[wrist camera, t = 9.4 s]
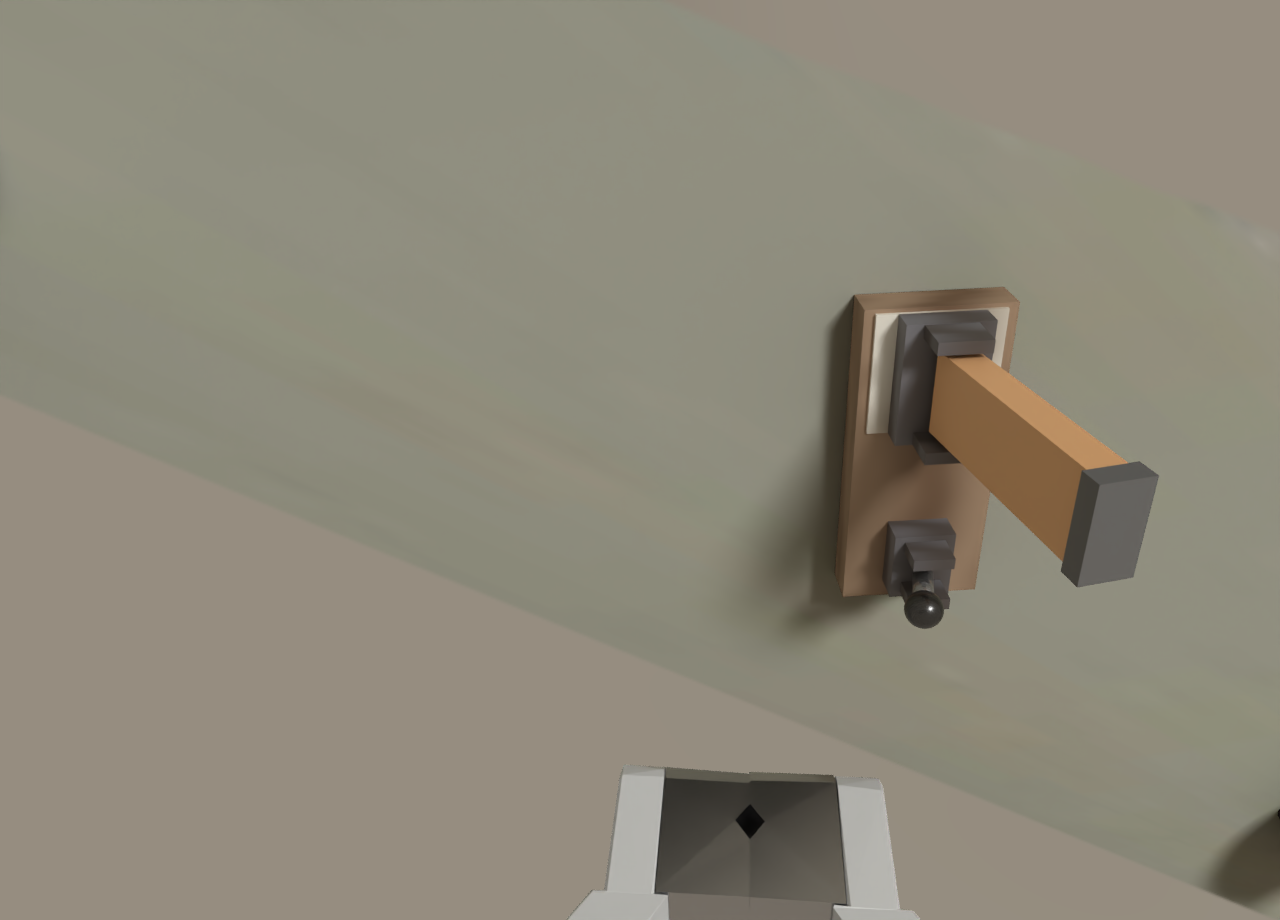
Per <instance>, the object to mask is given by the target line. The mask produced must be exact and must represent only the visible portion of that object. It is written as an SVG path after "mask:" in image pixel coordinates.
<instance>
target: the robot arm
mask: <svg viewBox="0 0 1280 920" xmlns="http://www.w3.org/2000/svg"><path fill="white" fill-rule="evenodd" d="M566 920H920V918H919V917H918V916H917V915H916V913H915V912H914V911H913V910H912V911H911V910H902V909H900V907H899V899H898V893H897V885H896V877H895V870H894V863H893V856H892V848H891V841H890V834H889V827H888V820H887V812H886V805H885V798H884V791H883V786H882V784H881V782H880V780H879V779H878V778H863V777H840V776H836V777H835V778H834V776H833V775H816V774H790V773H788V774H787V773H763V772H749V774H746V773H733V772H721V771H708V770H695V769H682V768H670V767H667V768H666V767H653V766H635V765H624V766H623V769H622V772H621V775H620V778H619V786H618V793H617V800H616V808H615V816H614V823H613V830H612V837H611V845H610V852H609V859H608V867H607V874H606V882H605V888H604V890H591V891H590V893H589V894H588V895H587V896H586V897H585V898H584V900H583V901H582V902H581V903H580V904H579V905H578V906H577V908H576V909H575V910H574V911H573V912H572V914H571V915H570V916H569V917H568V918H567V919H566Z"/></svg>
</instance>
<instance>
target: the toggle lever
mask: <svg viewBox="0 0 1280 920" xmlns="http://www.w3.org/2000/svg"><path fill="white" fill-rule="evenodd" d="M912 587H913V593H912V594H911V595H910V596H909V597H908V598H907V600H906V602H905V605H904V612H905V615H906V618H907V619H908V621H909V622H910V623H911V624H912V625H914V626H916V627H918V628H922V629H927V628H932V627H934V626H936V625H937V624H938V623H939V622H940V621H941V619H942V617H943V614H944V606H943V603H942V601H941V599H940V598H939V597H938V596H937V595H936V594H935V593H934V579H933V571H914V572H912Z"/></svg>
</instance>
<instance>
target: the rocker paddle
mask: <svg viewBox="0 0 1280 920" xmlns="http://www.w3.org/2000/svg"><path fill="white" fill-rule="evenodd" d="M929 432H930V433H931V434H932V435H933V436H934V437H935V438H936V439H937V440H938V441H939V442H940V443H941V444H942V445H943V446H944V447H945V448H946V449H947V450H948V451H949V452H950V453H951V454H952V455H953V456H954V457H955V458H956V459H957V460H958V461H960V462H961V463H962V464H963V465H964V466H965V467H966V468H967V469H968V470H969V471H970V472H971V473H972V474H973V475H974V476H975V477H976V478H977V479H978V480H979V481H980V482H981V483H982V484H983V485H984V486H985V487H986V488H987V489H988V490H989V491H990V492H991V493H993V494H994V495H995V496H996V497H997V498H998V499H999V500H1000V501H1001V502H1002V503H1003V504H1004V505H1005V506H1006V507H1007V508H1008V509H1009V510H1010V511H1011V512H1012V513H1013V514H1014V515H1015V516H1016V517H1017V518H1018V519H1019V520H1020V521H1021V522H1022V523H1023V524H1024V525H1025V526H1027V527H1028V528H1029V529H1030V530H1031V531H1032V532H1033V533H1034V534H1035V535H1036V536H1037V537H1038V538H1039V539H1040V540H1041V541H1042V542H1043V543H1044V544H1045V545H1046V546H1047V547H1048V548H1049V549H1050V550H1051V551H1052V552H1053V553H1054V554H1055V555H1056V556H1057V557H1058V558H1059V559H1061V560H1062V561H1063V563H1062V568H1061V572H1062V573H1063V574H1064V575H1065V576H1066V577H1067V578H1068V579H1069V580H1070V581H1071V582H1072V583H1073V584H1074V585H1075V586H1076V587H1082V586H1087V585H1093V584H1099V583H1104V582H1110V581H1116V580H1121V579H1127V578H1132V577H1133V576H1134V572H1135V568H1136V564H1137V560H1138V556H1139V552H1140V548H1141V544H1142V540H1143V536H1144V532H1145V529H1146V525H1147V521H1148V517H1149V513H1150V509H1151V505H1152V501H1153V497H1154V493H1155V489H1156V485H1157V481H1158V477H1159V475H1157V474H1156V473H1155V472H1153V471H1152V470H1151V469H1149V468H1148V467H1147V466H1145V465H1144V464H1142V463H1141V462H1140V461H1139V462H1133V463H1128V462H1126V461H1125V460H1124V459H1122V458H1121V457H1120V456H1118V455H1117V454H1116V453H1114V452H1113V451H1112V450H1110V449H1109V448H1108V447H1106V446H1105V445H1104V444H1102V443H1101V442H1100V441H1098V440H1097V439H1096V438H1094V437H1093V436H1092V435H1090V434H1089V433H1088V432H1086V431H1085V430H1084V429H1082V428H1081V427H1080V426H1078V425H1077V424H1076V423H1074V422H1073V421H1072V420H1070V419H1069V418H1068V417H1066V416H1065V415H1064V414H1062V413H1061V412H1060V411H1058V410H1057V409H1056V408H1054V407H1053V406H1052V405H1050V404H1049V403H1048V402H1046V401H1045V400H1044V399H1042V398H1041V397H1040V396H1038V395H1037V394H1036V393H1034V392H1033V391H1032V390H1030V389H1029V388H1028V387H1026V386H1025V385H1024V384H1022V383H1021V382H1020V381H1018V380H1017V379H1016V378H1014V377H1013V376H1012V375H1010V374H1009V373H1008V372H1006V371H1005V370H1004V369H1002V368H1001V367H1000V366H998V365H997V364H996V363H994V362H993V361H991V360H990V359H989V358H987V357H986V356H985V355H983V354H970V355H951V356H938V358H937V366H936V375H935V383H934V392H933V400H932V409H931V417H930V426H929Z"/></svg>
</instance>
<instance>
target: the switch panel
mask: <svg viewBox="0 0 1280 920" xmlns="http://www.w3.org/2000/svg"><path fill="white" fill-rule="evenodd" d="M1019 305H1020V302H1019V301H1018V300H1017V299H1016V298H1015V297H1014V296H1013V295H1012V294H1011V293H1010V292H1009V291H1008V290H1007V289H1006V288H1004V287H994V288H975V289H956V290H937V291H918V292H898V293H879V294H860V295H854V309H853V323H852V337H851V351H850V366H849V380H848V394H847V408H846V423H845V437H844V451H843V465H842V480H841V494H840V508H839V522H838V537H837V551H836V565H835V576H836V579H837V582H838V584H839V587H840V590H841V593H842V596H843V597H845V596H863V595H880V594H889V597H893V596H902V597H903V600H904V602H906V600H907V598H908V597H909V596H910V595H911V594H912V593H913V587H912V572H914V571H933V579H934V593H935V594H936V595H937V596H938V597H939V598H940V599H941V601H942V603H943V606H944V609H949V604H950V598H949V596H948V594H947V593H948V591H951V590H969V589H975V584H976V578H977V571H978V565H979V559H980V552H981V546H982V540H983V533H984V527H985V521H986V514H987V508H988V502H989V495H990V491H989V490H988V489H987V488H986V487H985V486H984V485H983V484H982V483H981V482H980V481H979V480H978V479H977V478H976V477H975V476H974V475H973V474H972V473H971V472H970V471H969V470H968V469H967V468H966V467H965V466H964V465H963V464H962V463H961V462H960V461H958V460H957V459H956V458H955V457H954V456H953V455H952V454H951V453H950V452H949V451H948V450H947V449H946V448H945V447H944V446H943V445H942V444H941V443H940V442H939V441H938V440H937V439H936V438H935V437H934V436H933V435H932V434H931V433H930V432H929V426H930V417H931V409H932V400H933V392H934V383H935V375H936V366H937V358H938V356H951V355H970V354H983V355H985V356H986V357H987V358H989V359H990V360H991V361H993V362H994V363H996V364H997V365H998V366H1000V367H1001V368H1002V369H1004V370H1005V371H1006V372H1008V373H1009V369H1010V362H1011V356H1012V349H1013V343H1014V337H1015V330H1016V324H1017V318H1018V311H1019Z"/></svg>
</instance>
